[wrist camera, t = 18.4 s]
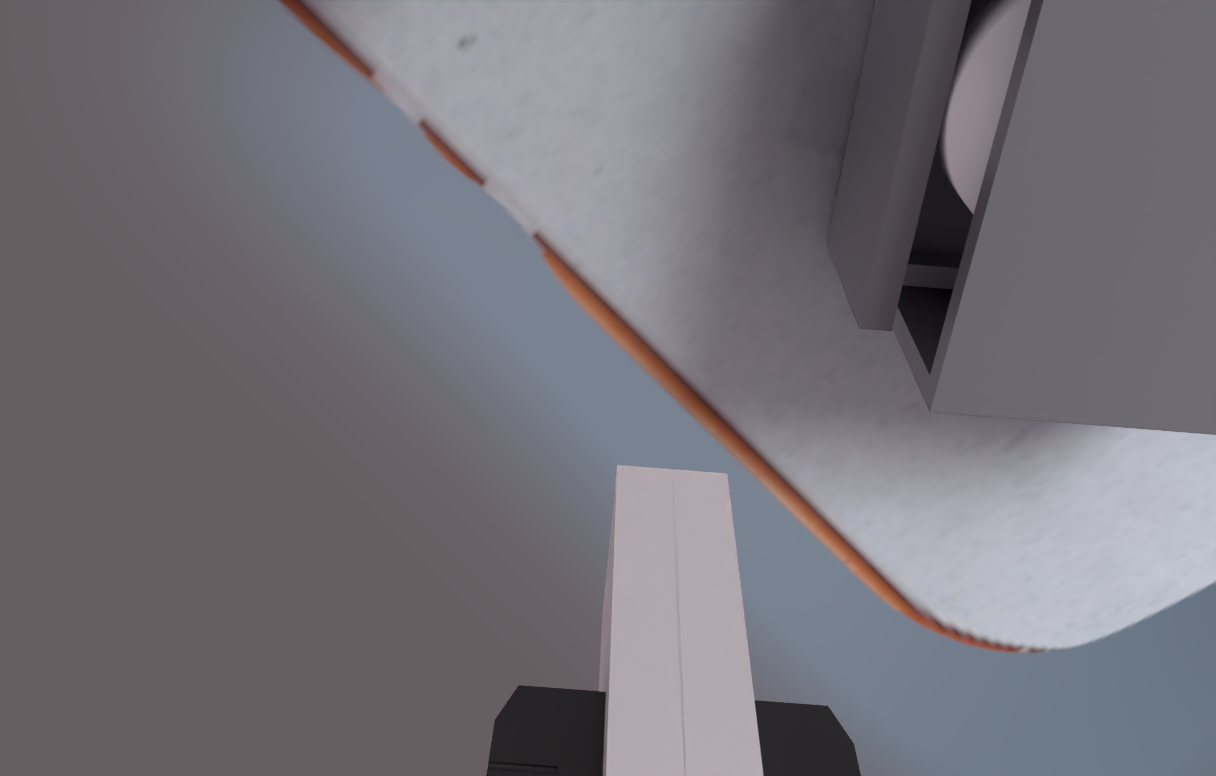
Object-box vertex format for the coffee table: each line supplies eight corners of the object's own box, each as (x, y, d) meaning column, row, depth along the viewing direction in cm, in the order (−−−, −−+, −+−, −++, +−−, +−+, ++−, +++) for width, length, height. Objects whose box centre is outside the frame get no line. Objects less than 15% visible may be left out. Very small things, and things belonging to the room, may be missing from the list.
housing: (994, -255, 30) (1115, -260, 23) (1470, -213, 31) (1750, -204, 23) (873, 283, 39) (930, 412, 31) (1243, 313, 39) (1390, 448, 32)
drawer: (899, -214, 31) (958, -209, 25) (1376, -173, 31) (1541, -158, 25) (811, 252, 38) (840, 338, 33) (1193, 284, 38) (1289, 374, 33)
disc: (978, -65, 28) (996, -56, 27) (1270, -28, 28) (1304, -17, 27) (901, 215, 32) (914, 237, 31) (1157, 246, 32) (1181, 268, 31)
